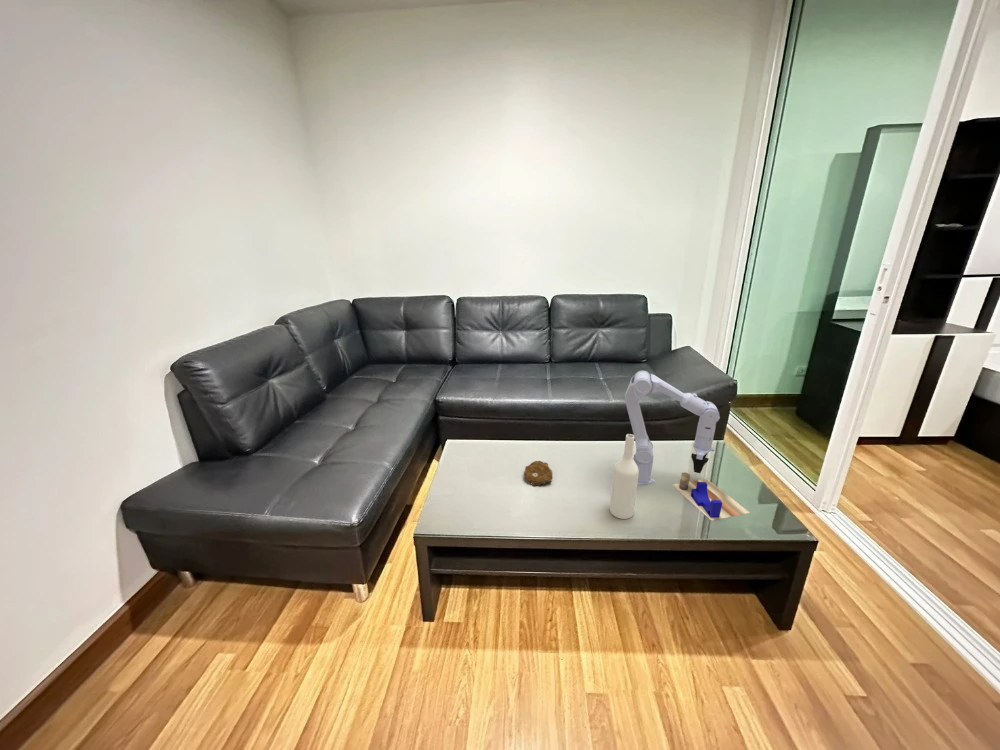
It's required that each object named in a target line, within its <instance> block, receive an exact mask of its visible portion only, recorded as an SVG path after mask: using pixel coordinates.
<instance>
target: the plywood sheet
mask: <svg viewBox="0 0 1000 750" xmlns="http://www.w3.org/2000/svg"><path fill="white" fill-rule="evenodd" d="M697 482H706V483H707V484H708V485H707V493H708V497H709V499H710V501H711V500H720V501H721V502H722V507H721V512H720V516H719V517H710V516H709V515H708V513H707V512H706V511H705V509H704V508H703V506H698V505H697V504H696V502H695V501H694V500H693V498H692V497H691V491H692V489H696V486H697ZM679 485H680V482H679V483H673V484H671V486H672V487H673V488H675V489H676V490H677V491H678V492H679V493H680V494H681V495H682V496H683V497H685V499H687V500H688V502H689V503H691V504H693V506H694V507H695V508H697V509H698V510H699V511H700V512H701V513H703V515H705V516H706V518H707V519H709V520H710V521H716V520H722V519H727V518H731V517H737V516H742V515H746V514H750V513H751V512H750V511H748V509H746V508H745V507H743V506H742V505H741V504H739V503H738V501H736V500H734V499H733V498H732V497H731V496H729V495H728V494H727V493H726V492H725V491H723V490H722V489H720V488H719V487H718V486H716V484H714V483H713V482H712V481H710V480H709V479H708V478H704V479H698V480H697V479H696V480H691V481H690V480H689V485H688V490H681V489H680V488H679Z"/></svg>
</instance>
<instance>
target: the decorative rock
mask: <svg viewBox="0 0 1000 750" xmlns="http://www.w3.org/2000/svg"><path fill="white" fill-rule="evenodd" d="M523 473H524V478H525V479H526V480H525V481H526V482H527V483H529V484H531V485H532V487H536V486H538V487H540V486H541V485H546V483H548V482H549V483H552V480H553V471H552V469H551V468H550V467H549V464H548V462H544V461H541V460H534V461H532V462H531V463H530V464H528V465H525V468H524V472H523Z"/></svg>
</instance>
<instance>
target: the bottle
mask: <svg viewBox="0 0 1000 750" xmlns="http://www.w3.org/2000/svg"><path fill="white" fill-rule="evenodd" d="M634 442H635V437H634V434H633V433H632V434H631V433H627V434H626V435H625V442H624V450H623V455H622V457H621V458H620V459H619V460H618V461H617V462H616V463H615V464H614V466H613V473H612V482H611V492H610V501H609V512H610V513H611V515H612V516H614V517H615V518H617V519H621V520H628V519H630V518H632V517H633V515H634V511H635V505H636V504H635V503H636V497H637V488H638V485H637V483H638V475H639V469H638V467H637V465H636V463H635V461H634V460H633V457H634V454H633V453H634V444H635V443H634Z"/></svg>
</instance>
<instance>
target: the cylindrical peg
mask: <svg viewBox="0 0 1000 750" xmlns="http://www.w3.org/2000/svg"><path fill="white" fill-rule="evenodd" d="M690 478H691V474H690V473H688V472H685V471H684V472H681V475H680V481H679V483H680V485H679V488H680V489H681V490H688V485H689V482H690Z"/></svg>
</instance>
